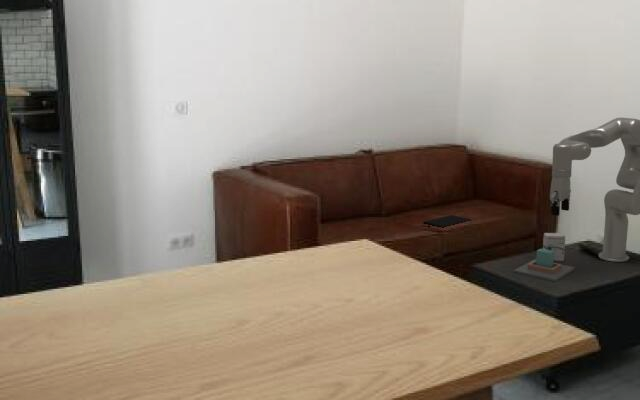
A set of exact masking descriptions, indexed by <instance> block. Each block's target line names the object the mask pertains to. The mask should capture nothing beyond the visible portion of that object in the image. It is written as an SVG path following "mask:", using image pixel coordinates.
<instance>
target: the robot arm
mask: <svg viewBox="0 0 640 400" xmlns="http://www.w3.org/2000/svg"><path fill="white" fill-rule="evenodd" d="M619 139H620V142H621V144H622V145H623V148H624V149H623V150H624V157H623V160H622V163H621V165H620V167H619V171H618V173H617V175H616V182H615V183H616V184H617V186H618V187H621V188H624V189H628V190H633V192H631V191H627V190H622V189H618V188H617V189H615V188H614V189H611V190H608V191H607V192H606V193H605V196H604V197H603V198H604V199H603V203H604V209H605V210H604V213H605V217H604V218H605V219H604V231H603V244H602V251H601V252H599V253H598V257H599V258H600V260H603V261H604V260H605V261H609V262H613V263H614V262H615V263H621V262H624V263H625V262H627V261H629V260H630V256H629V255H628V254H627V253H626V250H627V242H628V231H629V217H628V215H632V216H638V215H639V216H640V119H637V118H633V117H632V118H631V117H616V118H614V119H612V120H610V121H608V122H606V123H603V124H602V125H600V126H598V127H596V128H593V129H588V130H585V131H581V132H576V133H574V134H571V135H569V136H567V137H564V138H563V139H562V140H560V142H558V143H555V144H554V145H553V147H552V167H551V170H552V171H551V177H552V178H551V183H550V193H549V200H550V206H551V210H550V211H551V213H550V214H551V216H560V209H561V211H569V210H570V201H571V191H572V190H571V178H572V168H573V167H572V164H573V161H583V160H586V159H588V158H589V157H590V156H591V154H592V148H593V149H594V148H603V147H607V146H608V145H610V144H612V143H613V142H615V141H617V140H619ZM560 203H561V206H559V205H560Z"/></svg>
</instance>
